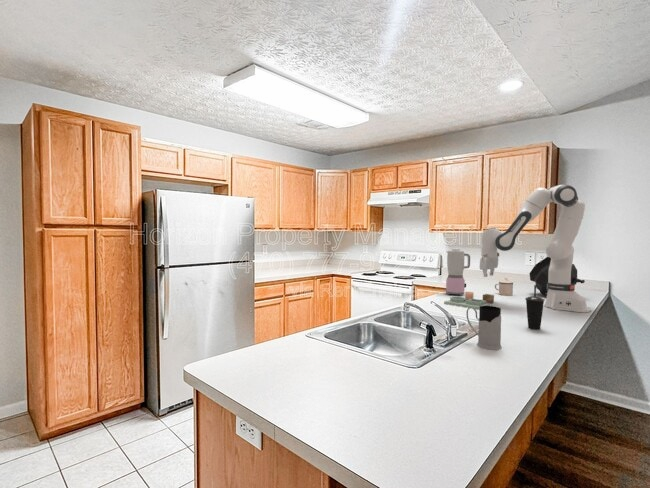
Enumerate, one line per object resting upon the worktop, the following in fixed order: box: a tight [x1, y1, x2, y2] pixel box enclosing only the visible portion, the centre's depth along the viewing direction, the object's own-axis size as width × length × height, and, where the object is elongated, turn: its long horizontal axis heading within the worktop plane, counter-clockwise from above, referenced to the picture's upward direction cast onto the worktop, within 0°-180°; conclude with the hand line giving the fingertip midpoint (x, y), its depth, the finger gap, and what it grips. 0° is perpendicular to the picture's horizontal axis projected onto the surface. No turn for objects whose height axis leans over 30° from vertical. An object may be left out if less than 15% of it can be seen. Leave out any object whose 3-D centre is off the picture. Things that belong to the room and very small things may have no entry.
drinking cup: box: [525, 284, 546, 331], centre depth 163 cm, size 8×8×20 cm
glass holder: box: [466, 305, 502, 351], centre depth 140 cm, size 9×14×15 cm, turn 36°
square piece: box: [482, 293, 495, 305], centre depth 222 cm, size 5×5×5 cm
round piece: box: [464, 291, 474, 300], centre depth 231 cm, size 5×5×5 cm
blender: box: [445, 248, 471, 297], centre depth 249 cm, size 16×12×32 cm
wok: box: [528, 256, 586, 295], centre depth 243 cm, size 28×28×24 cm
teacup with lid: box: [494, 277, 514, 297], centre depth 252 cm, size 12×9×12 cm
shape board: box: [443, 296, 491, 310], centre depth 215 cm, size 22×14×4 cm, turn 44°
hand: (488, 276), depth 222 cm, fingers open, 8 cm apart
